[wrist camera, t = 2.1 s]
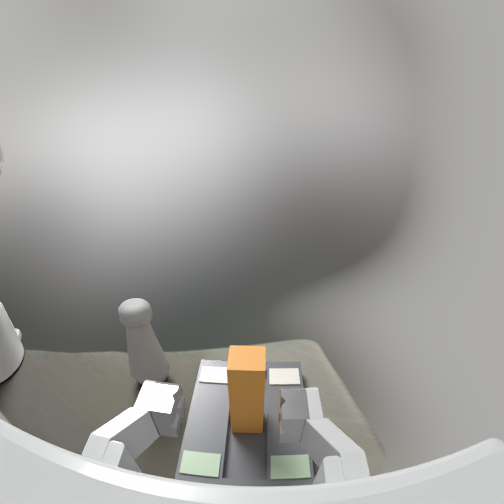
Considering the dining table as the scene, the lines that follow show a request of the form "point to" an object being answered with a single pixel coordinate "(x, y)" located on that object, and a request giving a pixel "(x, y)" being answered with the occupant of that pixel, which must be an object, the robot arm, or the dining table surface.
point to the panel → (240, 435)
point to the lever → (246, 388)
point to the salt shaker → (142, 342)
